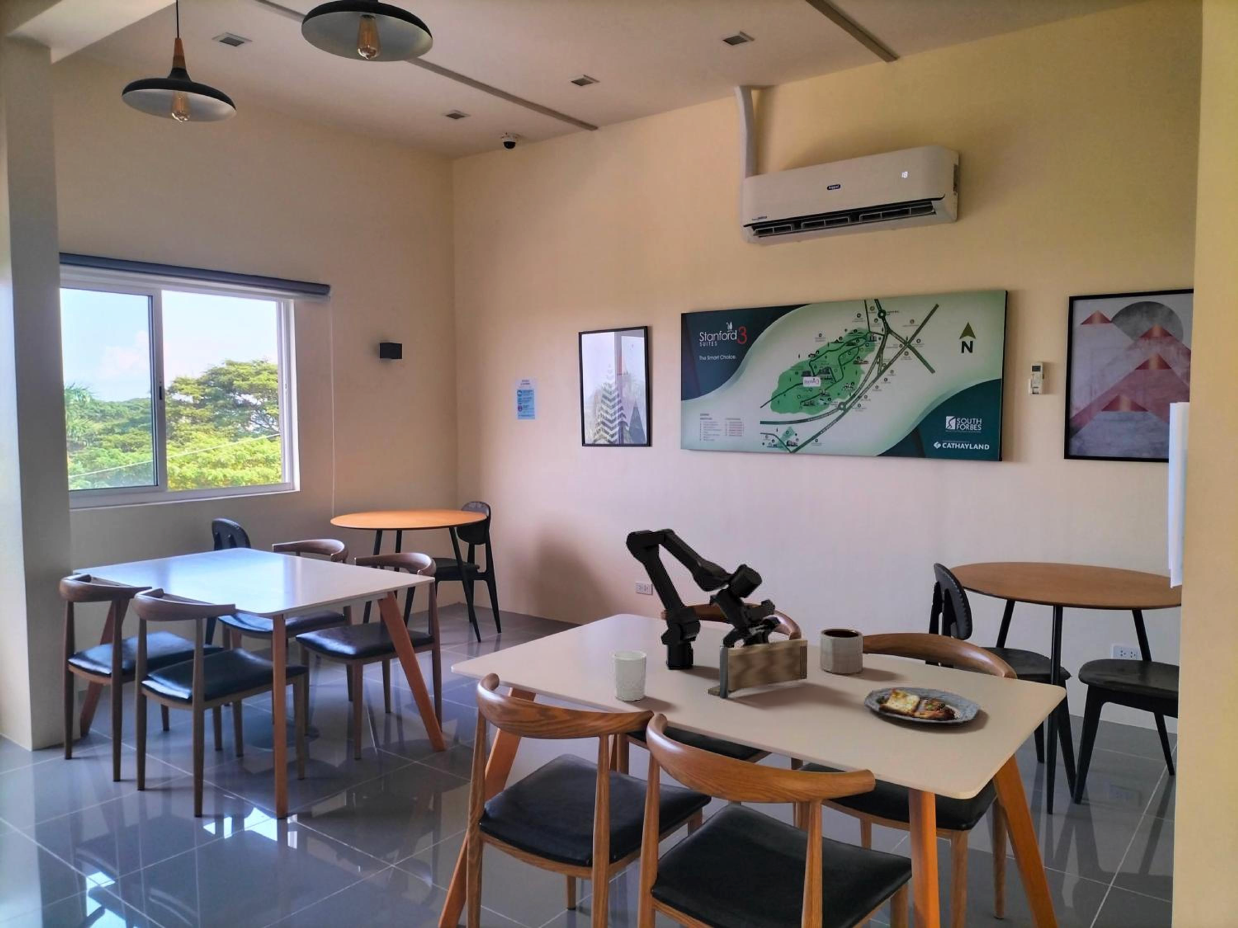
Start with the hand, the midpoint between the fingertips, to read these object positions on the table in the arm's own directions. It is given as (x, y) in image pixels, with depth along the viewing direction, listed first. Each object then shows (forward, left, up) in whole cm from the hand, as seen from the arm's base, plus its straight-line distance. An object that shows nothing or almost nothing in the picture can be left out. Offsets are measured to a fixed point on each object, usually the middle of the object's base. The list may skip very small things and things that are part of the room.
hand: (772, 660), depth 209 cm
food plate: (+29, -19, -7) cm, 35 cm away
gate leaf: (-2, -2, -5) cm, 6 cm away
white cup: (-35, -4, -7) cm, 36 cm away
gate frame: (-6, +3, -7) cm, 9 cm away
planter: (+22, +15, -7) cm, 27 cm away
